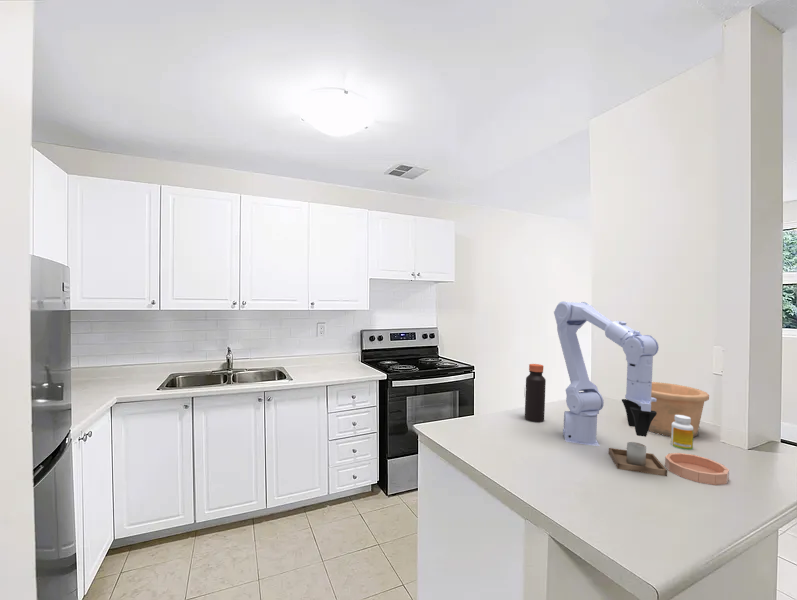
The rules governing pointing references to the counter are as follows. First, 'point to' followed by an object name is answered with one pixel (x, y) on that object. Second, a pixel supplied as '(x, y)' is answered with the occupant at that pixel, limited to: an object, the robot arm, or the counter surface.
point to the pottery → (675, 406)
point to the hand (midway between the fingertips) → (637, 431)
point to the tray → (651, 465)
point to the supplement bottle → (682, 433)
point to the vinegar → (535, 394)
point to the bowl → (697, 468)
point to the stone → (636, 454)
